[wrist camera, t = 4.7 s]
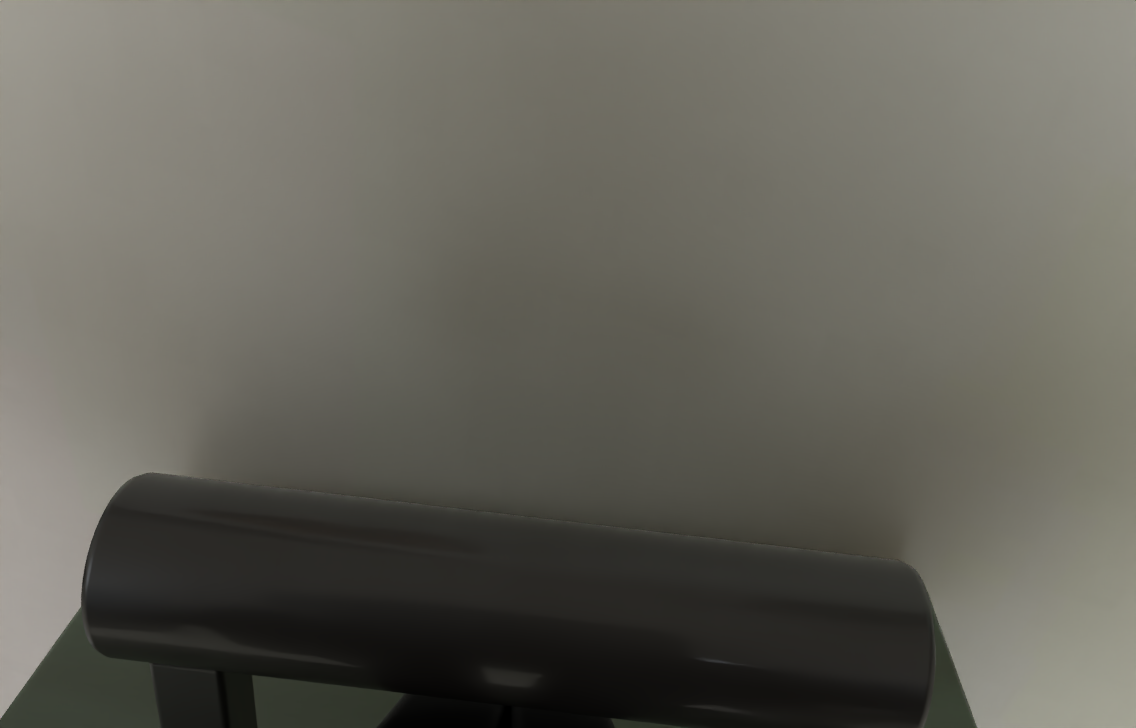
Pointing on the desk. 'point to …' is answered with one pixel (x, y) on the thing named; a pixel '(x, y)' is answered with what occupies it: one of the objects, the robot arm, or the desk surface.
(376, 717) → the drawer
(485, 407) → the desk surface
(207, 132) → the desk surface
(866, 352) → the desk surface
